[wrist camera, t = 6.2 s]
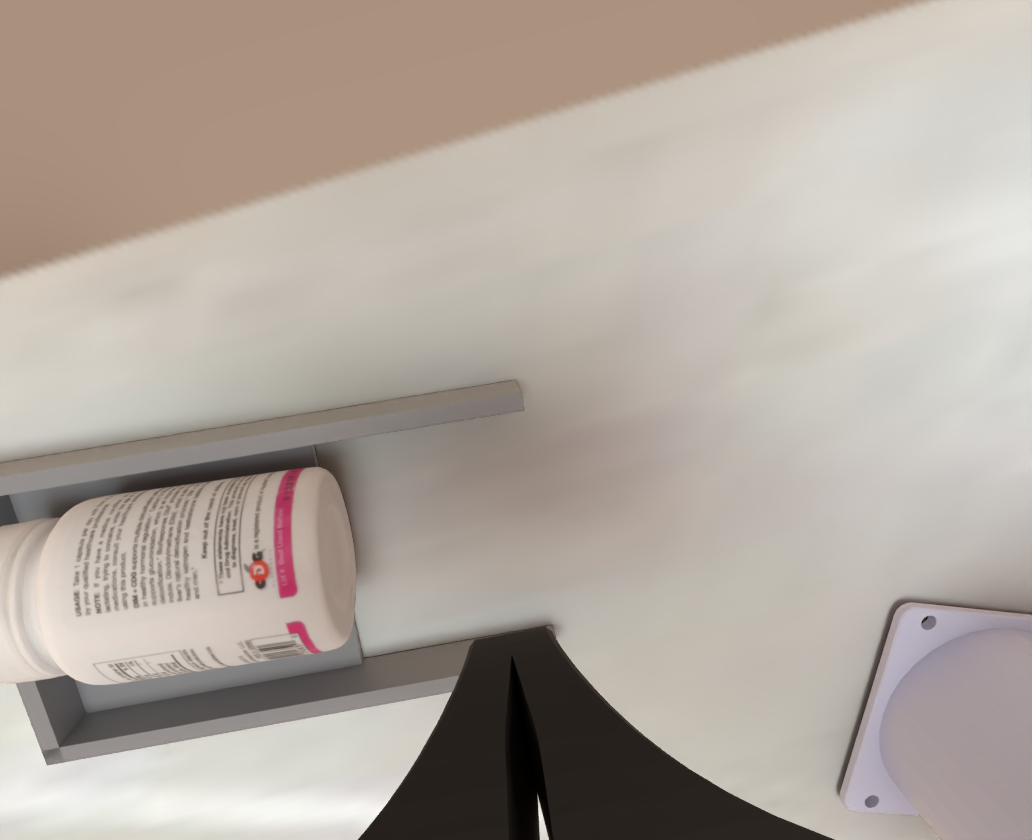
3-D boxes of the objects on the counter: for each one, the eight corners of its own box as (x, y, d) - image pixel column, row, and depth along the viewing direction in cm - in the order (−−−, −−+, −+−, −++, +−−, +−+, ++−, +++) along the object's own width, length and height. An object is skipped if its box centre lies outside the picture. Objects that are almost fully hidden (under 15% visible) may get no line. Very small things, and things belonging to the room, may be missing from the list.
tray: (516, 379, 20) (521, 392, 18) (554, 638, 22) (563, 671, 21) (-14, 465, 19) (-59, 486, 18) (79, 723, 22) (47, 765, 20)
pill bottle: (337, 441, 20) (33, 482, 19) (304, 505, 15) (-96, 561, 15) (365, 589, 21) (82, 631, 21) (342, 689, 17) (-22, 746, 16)
